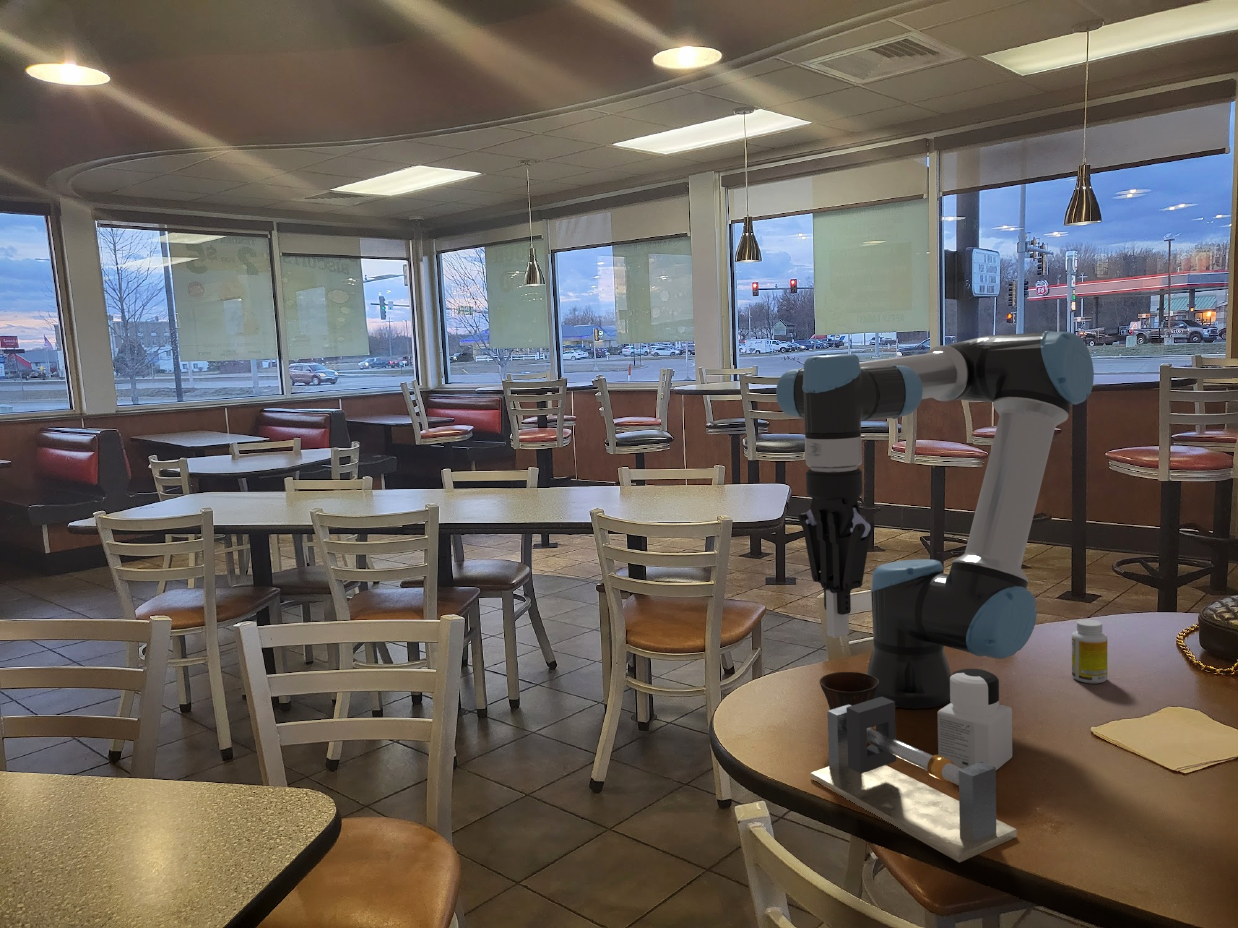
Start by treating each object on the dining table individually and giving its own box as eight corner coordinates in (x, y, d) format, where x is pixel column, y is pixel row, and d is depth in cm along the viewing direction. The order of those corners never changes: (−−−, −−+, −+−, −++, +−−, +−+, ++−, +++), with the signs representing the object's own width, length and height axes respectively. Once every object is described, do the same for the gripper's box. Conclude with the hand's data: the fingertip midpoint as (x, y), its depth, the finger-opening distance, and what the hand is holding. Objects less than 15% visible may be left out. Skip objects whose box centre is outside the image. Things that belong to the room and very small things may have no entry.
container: (961, 743, 138) (960, 660, 136) (1013, 757, 132) (1012, 671, 131) (937, 761, 133) (935, 675, 131) (990, 776, 127) (989, 686, 126)
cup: (813, 746, 138) (815, 680, 138) (822, 730, 147) (824, 668, 147) (874, 754, 135) (876, 686, 135) (879, 737, 144) (881, 674, 144)
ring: (848, 767, 125) (846, 707, 124) (883, 754, 128) (881, 696, 127) (860, 773, 123) (859, 712, 122) (896, 761, 126) (894, 701, 125)
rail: (810, 779, 129) (808, 714, 128) (863, 760, 134) (861, 698, 133) (959, 862, 107) (958, 784, 106) (1016, 836, 111) (1016, 762, 110)
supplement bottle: (1114, 682, 158) (1115, 624, 157) (1087, 686, 157) (1087, 628, 156) (1091, 671, 164) (1091, 616, 163) (1064, 675, 163) (1064, 620, 162)
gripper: (781, 467, 130) (787, 629, 132) (846, 474, 118) (850, 651, 121) (822, 461, 133) (826, 619, 136) (888, 468, 122) (892, 640, 124)
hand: (838, 634), depth 128 cm, fingers closed
